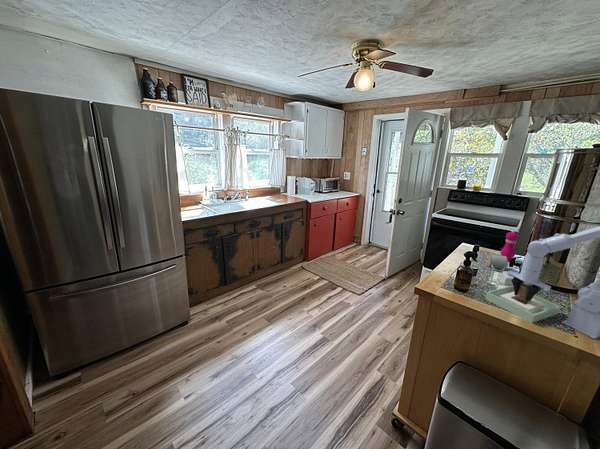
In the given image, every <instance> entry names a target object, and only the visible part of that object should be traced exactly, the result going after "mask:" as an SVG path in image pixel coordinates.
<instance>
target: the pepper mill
mask: <svg viewBox="0 0 600 449" xmlns="http://www.w3.org/2000/svg"><path fill="white" fill-rule="evenodd" d="M505 238H506V239H505V244H504V246H503V248H501V250H500V252H499V254H500V256H506V257H507V263H511V262H510V260H511V259H513V258H515V255H516V251H515V244H516V243H517V240H518V239H519V234H518V233H517V232H516V230H514V229H512V230H511V231H510V232H507V233H506V234H505Z"/></svg>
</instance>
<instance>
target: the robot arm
mask: <svg viewBox="0 0 600 449" xmlns="http://www.w3.org/2000/svg"><path fill="white" fill-rule="evenodd" d="M594 239H600V225H599V226H595V227H592V228H588V229H586V230H582V231H578V232H576V233H574V234H567V233H561V234H560V233H558V232H557V233H555V234H554V235H553V236H550V237H547V238H539V240H533V241H531V242H530V243H529V244H528V247H527V249H526V250H527V252H526V254H525V257H524V259H523V260H524V261H523V263H522V265H521V270H520V272H515V271H513V270H509V271H507V272H508V273H507V275H508V276H512V277H514V278H513V279H512V280H511V281H512V283H513V286H514V295H517V293H518V290H519V287H520V284H523V283H524V282H527V283H529V287H528V288H529V290H528V295H527V298H526V300H527V301H530V300H531V299H532V298H533V296H534V295H535V296H536V294H537V293H538V292H540V291H542V290H543V291H545V292H550V291H551V288H552V286H551V285H548V284H546V283H545V282H543V281H541V280H539V277H540V274H541V271H542V267H543V264H544V258H545V256H547V254H548V253H549V254H552V253H556V252H560V251H564V250H567V249H572V248H573V247H574V246H575V244H578V243H582V242H586V241H591V240H594ZM577 291H578V292H577V297H578V299H577V300H574V302H573V304H572V306H571V309H570V312H569V315H568V317H567V319H565V320H563V321H561V323H562V324H565V325H566V326H568V327H570V328H573V329H574V330H577V331H579V332H580V333H583V334H585V335H587V336H588V337H589V338H592V339H598V338H600V277H599V278H598V279H597V280H596V281H594V282H592V283H590V284H589V285H588V286H584V287H582V288H581V287H580V289H579V290H577Z"/></svg>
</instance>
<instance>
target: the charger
mask: <svg viewBox="0 0 600 449" xmlns="http://www.w3.org/2000/svg"><path fill="white" fill-rule="evenodd" d="M507 273H508V271H506V270H504V271H503V272H501V276H500V278H501V280H502V283H503V285H506V286H512V285H513V283H512V281H511V280H512V279H513V278H514V277H512V276H508V275H507ZM523 284H527V285H529V286H530V284H529V283H527V282H524V283H523Z"/></svg>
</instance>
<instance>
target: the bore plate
mask: <svg viewBox="0 0 600 449" xmlns="http://www.w3.org/2000/svg"><path fill="white" fill-rule="evenodd" d="M516 296H517V295H514V292H510V293H507V294H503V295H500V297H499V298H501V299H503V300H505V301H507V302H509V303H511V304H513V305H515V306H517V307H520V308H522V309H524V310H526V311H528V312H530V313H532V314H534V313H537V312H540V311H543V309H544V306H545V304H543V303H541V302H539V301H536V300H534V299H531V300H530V301H528V303H527V304H526V305H525V304H523V303H521V302H519V301H517V300H516Z"/></svg>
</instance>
